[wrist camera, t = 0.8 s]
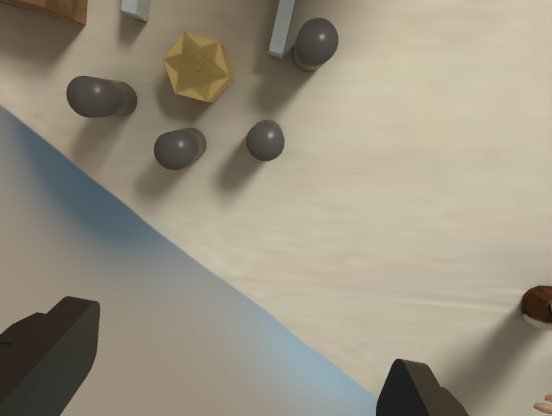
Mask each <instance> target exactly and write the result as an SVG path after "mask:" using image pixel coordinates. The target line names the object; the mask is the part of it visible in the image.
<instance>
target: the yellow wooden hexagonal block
mask: <svg viewBox="0 0 552 416" xmlns="http://www.w3.org/2000/svg"><path fill="white" fill-rule="evenodd" d="M163 61H164V64H165V66H166V69H167V72H168V75H169V78H170V81H171V83H172V86H173V89H174V92H175V94H179V95H183V96H187V97H190V98H194V99H198V100H202V101H206V102H214V101H215V100H216V99H217V98H218V97H219V95H220V94H221V93H222V92H223V91H224V90H225V88H226V87H227V86H228V85H229V84H230V83H231V82H232V80H233V77H232V73H231V70H230V67H229V63H228V60H227V57H226V53H225V50H224V47H223V46H222V45H221V44H220V42H219V41H215V40H212V39H208V38H204V37H201V36H197V35H193V34H190V33H186V32H184V33H183V35H182V36H181V37H180V38H179V40H178V41H177V42H176V43H175V45H174V46H173V47H172V48H171V50H170V51H169V52H168V53H167V55H166V56H165V57H164V58H163Z"/></svg>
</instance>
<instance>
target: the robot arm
mask: <svg viewBox="0 0 552 416" xmlns="http://www.w3.org/2000/svg"><path fill="white" fill-rule="evenodd" d="M99 317H100V304H99V303H98V302H97V301H91V300H86V299H81V298H76V297H70V296H67V297H65V298H63V299H62V300H61V301H60V302H59V303H57V304H56V306H54V307H53V308H52V309H51V310H50V311H49V312H48V313H47V314H43V313H38V312H37V313H35V314H33V315H31V316H29V317H26V318H24V319H22V320H20V321H18V322H16V323H14V324H12V325H11V326H10V327H9V328H7V329H6V330H5V331H4V332H3V333H2V334H0V416H60V414H61V413H62V412H63V410H64V409H65V407H66V406H67V404H68V403H69V401H70V400H71V399H72V397H73V396H74V394H75V393H76V391H77V390H78V388H79V387H80V385H81V384H82V382H83V381H84V380H85V378H86V376H87V375H88V373H89V372H90V370H91V368H92V365H93V363H94V360H95V356H96V352H97V343H98V330H99ZM376 416H469V415H468V414H467V412H466V410H465V409H464V407H463V406H462V405H461V404H460V403H459V402H458V401H457V400H456V399H455V398H454V396H453V395H452V394H451V393H450V392H449V391H448V390H447V389H446V388H444V387H440V385H439V383H438V381H437V380H436V378H435V376H434V374H433V373H432V371H431V369H430V368H429V366H428V365H426V364H424V363H419V362H414V361H409V360H403V359H396V360H395V361H394V362H393V364H392V366H391V369H390V371H389V374H388V376H387V379H386V381H385V384H384V386H383V389H382V391H381V394H380V396H379V399H378V401H377V407H376Z"/></svg>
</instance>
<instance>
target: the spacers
mask: <svg viewBox="0 0 552 416" xmlns="http://www.w3.org/2000/svg"><path fill="white" fill-rule="evenodd" d="M337 46H338V34H337V31H336V29H335V27H334V26H333V24H332V23H331V22H329V21H328V20H326V19H322V18H315V19H311V20H309V21H307V22H306V23H305V24H304V25H303V26H302V27H301V29H300V31H299V34H298V37H297V39H296V42H295V45H294V48H293V59H294V62H295V64H296V65H297V66H298V67H299V68H300V69H302V70H304V71H314V70H316V69H318V68H319V67H320V66H322V65H323V64H324V63H325V62H326V61H327V60H329V59H330V58H331V57H332V56H333V55H334V53H335V51H336V49H337ZM67 100H68V103H69V105H70V106H71V108H72V109H73V110H74V111H75V112H76V113H78V114H79V115H81V116H84V117H107V116H124V115H128V114H130V113H132V112H133V111H134V110H135V108H136V106H137V96H136V93H135V91H134V90H133V88H132V87H131V86H129V85H128V84H126V83H124V82H119V81H113V80H107V79H100V78H94V77H88V76H79V77H76V78H74V79H73V80H72V81H71V82H70V83H69V85H68V87H67ZM247 147H248V150H249V152H250V153H251V154H252V156H254V157H255V158H256V159H258V160H262V161H270V160H273V159H275V158H277V157H278V156H279V155H280V154H281V152H282V150H283V148H284V136H283V133H282V130H281V128H280V126H279V125H278V124H277V123H276V122H274V121H272V120H262V121H260V122H258V123H257V124H256V125H255V126H254V127H253V128H252V129H251V130H250V132H249V133H248V136H247ZM205 149H206V140H205V137H204V135H203V134H202V133H201V132H200V131H199V130H197V129H195V128H184V129H180V130H176V131H172V132H168V133H165V134H163V135H161V136H160V137H159V138H158V139H157V140H156V142H155V145H154V154H155V157H156V159H157V161H158V162H159V163H160V164H161V165H162V166H163V167H165V168H167V169H170V170H179V169H182V168H184V167H185V166H187V165H188V164H190V163H191V162H193V161H194V160H196V159H197V158H199V157H200V156H201V155H202V154H203V153H204V152H205Z"/></svg>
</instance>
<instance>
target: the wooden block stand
mask: <svg viewBox="0 0 552 416" xmlns="http://www.w3.org/2000/svg"><path fill="white" fill-rule="evenodd" d="M87 1H88V0H0V2H2V3H6V4H10V5H14V6H17V7H21V8H25V9H28V10H32V11H36V12H40V13H43V14H47V15H51V16H55V17H58V18H62V19H66V20H70V21H73V22H77V23H81V24H84V25H86V14H87Z"/></svg>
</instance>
